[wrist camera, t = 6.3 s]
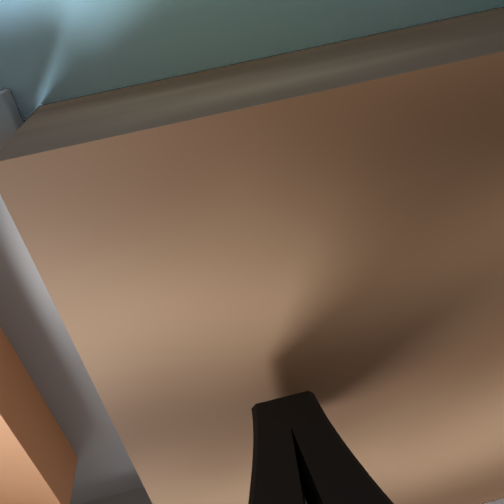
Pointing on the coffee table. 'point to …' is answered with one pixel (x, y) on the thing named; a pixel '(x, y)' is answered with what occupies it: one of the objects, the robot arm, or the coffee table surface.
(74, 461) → the tan rectangular block
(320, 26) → the coffee table surface
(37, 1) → the coffee table surface
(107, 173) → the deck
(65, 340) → the tray
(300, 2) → the coffee table surface
